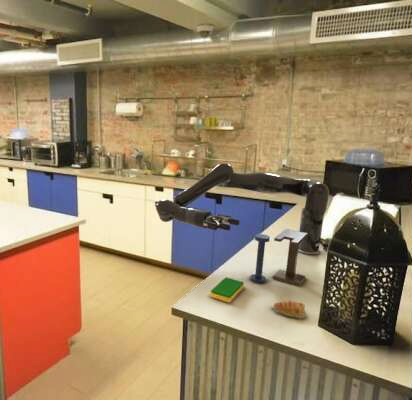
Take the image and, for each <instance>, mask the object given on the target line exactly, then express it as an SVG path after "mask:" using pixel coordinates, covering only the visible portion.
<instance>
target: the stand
mask: <svg viewBox="0 0 412 400" xmlns="http://www.w3.org/2000/svg"><path fill="white" fill-rule="evenodd" d="M307 235H308V233H304V232H299V230H293V229H289V228H285V229H284V230H282V231H281V232H280V233H279V234H277V235H276V236H275V237H274V239H273V241H274V242H279V243H281V242H282V241H283V240H287V241H289V243H288V252H287V261H286V269H285V270H284V269H281V268H280V269H278V270H277V271H276V272H275V273H274V274H273V276H272V280H273V279H274V280H277V281H281V282H284V283H287V284H291V285H295V286H298V287H301V285H302V284H303V282H304V281H305V280H306V278H307V276H306V275H303V274H299V273H296V272H297V264H298V256H299V251H298V250H299V243H300V242H301V241H302V240H303V239H304V238H305V237H306V236H307Z"/></svg>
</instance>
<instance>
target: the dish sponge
mask: <svg viewBox="0 0 412 400" xmlns="http://www.w3.org/2000/svg"><path fill="white" fill-rule="evenodd" d="M244 288H245V282H244V281H242V280H237V279H233V278H230V277H224V278H223V279H222V280H221V281H220V282H218V283H217V284H216V285H215V286H214V287H213V288H212V289H211V290H210V297H211V298H214V299H217V300H220V301H223V302H226V303H231V302H232V301H233V300H234V299H235V297H237V295H239V293H240V292H241V291H242V290H244Z"/></svg>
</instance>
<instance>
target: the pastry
mask: <svg viewBox="0 0 412 400" xmlns="http://www.w3.org/2000/svg"><path fill="white" fill-rule="evenodd" d="M272 308H273V310H274V312H276V313H278V314H279V315H283V316H285V317H289V318H296V319H298V320H299V319H300V320H302V319H304V318H305V317H306V311H305V304H304V303H303V302H302V301H300V302H297V301H293V300H288V301H279V302H275V303H274V304H273V307H272Z"/></svg>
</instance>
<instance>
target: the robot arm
mask: <svg viewBox="0 0 412 400" xmlns="http://www.w3.org/2000/svg"><path fill="white" fill-rule="evenodd" d="M215 187H218V188H227V189H229V188H230V189H233V188H234V189H242V190H245V191H251V192H258V193H261V194H268V195H294V196H298V197H302V198H304V199H305V204H304V207H302V209H301V213H300V221H299V229H298V231H299V232H304V233H308V235H307V236H306V237H305V238H304V239H303V240H302V241H301V242H300V243H299V250H298V253H302V254H306V255H318V254H319V253H320V246H324V247H327V246H328V244H329V243H323V241H322V231H323V223H324V216H325V213H326V211H327V208H328V202H329V197H330V191H329V188H328V186H327V185H326V184H324V183H323V182H321V181H319V180H316V179H303V178H302V179H300V178H294V177H293V178H292V177H288V176H284V175H281V174H275V173H271V172H264V171H263V172H262V171H261V172H260V171H259V172H249V173H238V172H235V170H234V168H233V166H232V165H230V164H229V163H226V162H223V163H219V164H217V165H216V166H215V167H214V168H213V169H211V170H210V172H208V173H207V174H206V175H204V176H203V177H202V178H200V179H199V180H198V181H196V182H194V183H193V184H191V185H189V186H188V187H186V188H185V189H183V190H182V191H180V192H178V193H176V194H175V195H174V196H173V200H169V199H160V200H158V201H157V202H156V203H155V209H156V212H157V215H158V217H159V219H160V221H161V222H164V223H169V222H171V221H173V220H175V221H176V222H179V223H182V224H186V225H190V226H193V227H197V228H200V229H201V228H202V229H210V230H214V231H217V230H225V231H227V232H228V231H230V230H231V228H232V227H231V226H232V225H233V226H239V225H240V219H237V218H232V216H231V215H227V214H221V213H217V215H216V214H214V215H213V214H212V212H211V211H210V210H207V209H202V208H197V207H189V206H190V205H192V204H193V203H194V202H196V201H198V200H199V199H200V198H201V197H202V196H204V195H205V194H206V193H207V192H209V191H210V190H212V189H213V188H215ZM328 247H329V246H328Z"/></svg>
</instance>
